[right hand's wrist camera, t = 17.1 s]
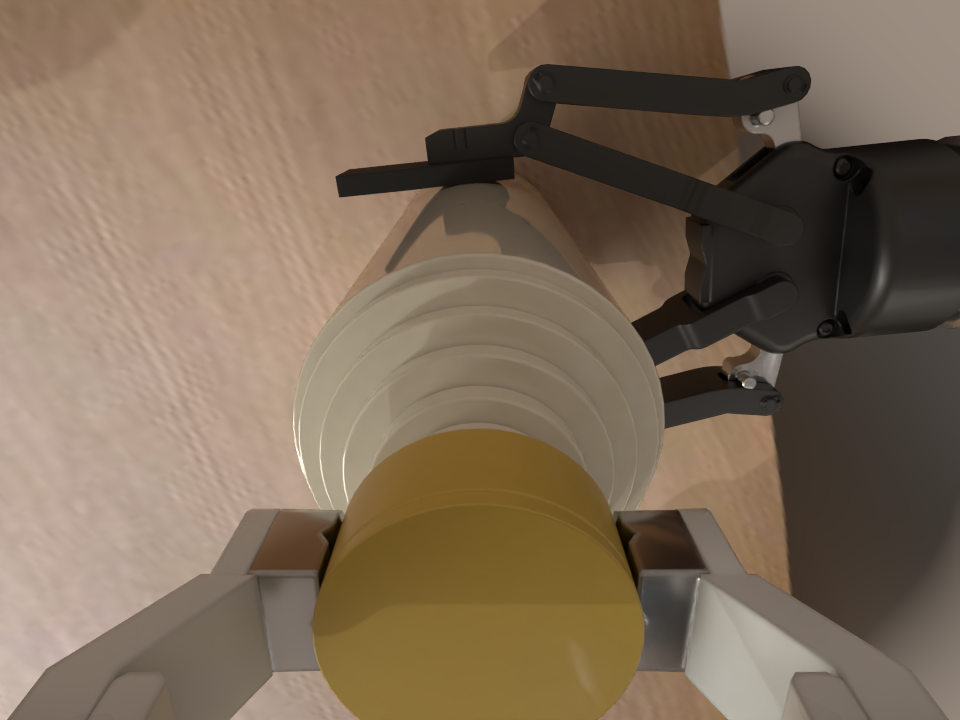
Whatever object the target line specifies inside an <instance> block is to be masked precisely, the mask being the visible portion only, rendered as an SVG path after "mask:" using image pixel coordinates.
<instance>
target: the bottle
mask: <svg viewBox="0 0 960 720" xmlns="http://www.w3.org/2000/svg"><path fill="white" fill-rule="evenodd" d="M514 174H515V179H511V180H501V181H492V182H482V183H471V184H463V185H453V186H444V187H434V188H425V189H421V190H420V191H419V192H418V193H417V195H416V196H415V197H414V199H413V200H412V202H411V203H410V204H409V206H408V207H407V209H406V210H405V212H404V213H403V214H402V216H401V217H400V219H399V220H398V222H397V223H396V224H395V226H394V227H393V229H392V230H391V232H390V233H389V234H388V236H387V237H386V239H385V240H384V242H383V243H382V244H381V246H380V247H379V249H378V250H377V252H376V253H375V254H374V256H373V257H372V259H371V260H370V261H369V263H368V264H367V266H366V267H365V269H364V270H363V271H362V273H361V274H360V276H359V277H358V279H357V280H356V281H355V283H354V284H353V286H352V287H351V289H350V290H349V291H348V293H347V294H346V296H345V297H344V299H343V300H342V301H341V303H340V304H339V306H338V307H337V309H336V310H335V311H334V313H333V314H332V316H331V317H330V319H329V320H328V321H327V323H326V324H325V326H324V327H323V328H322V330H321V331H320V333H319V334H318V336H317V337H316V338H315V340H314V342H313V344H312V346H311V348H310V350H309V352H308V354H307V356H306V358H305V360H304V362H303V365H302V368H301V371H300V374H299V377H298V380H297V384H296V390H295V396H294V402H293V433H294V441H295V448H296V451H297V455H298V459H299V462H300V466H301V469H302V471H303V474H304V476H305V478H306V481H307V483H308V485H309V488H310V490H311V492H312V495H313V497H314V499H315V501H316V503H317V504H318V506H319V508H320V509H321V510H342V511H343V513H344V514H345V513H346V510H347V507H348V505H349V503H350V500H351V498H352V496H353V494H354V492H355V491H356V490H357V488H358V487H359V485H360V484H361V482H362V481H363V479H364V478H365V477H366V476H367V475H368V474H369V473H370V472H371V471H372V470H373V469H374V468H375V467H376V466H377V465H378V464H379V463H381V462H382V461H383V460H384V459H386V458H387V457H388V456H390V455H391V454H393V453H395V452H396V451H398V450H399V449H401V448H403V447H404V446H406V445H409V444H411V443H413V442H415V441H418V440H420V439H422V438H425V437H428V436H432V435H433V434H438V433H443V432H448V431H454V430H460V429H477V428H480V429H483V428H487V429H497V430H503V431H509V432H515V433H519V434H522V435H525V436H529V437H532V438H535V439H537V440H541V441H542V442H545V443H546V444H549V445H551V446H553V447H554V448H556V449H558V450H559V451H561V452H563V453H564V454H566V455H568V456H569V457H570V458H571V459H573V460H574V461H575V462H576V463H578V464H579V465H580V466H581V467H582V468H583V469H584V470H585V471H586V472H587V473H588V474H589V475H590V476H591V477H592V478H593V479H594V481H595V482H596V484H597V485H598V486H599V488H600V489H601V491H602V492H603V494H604V496H605V498H606V500H607V502H608V504H609V506H610V509H611V512H612V515H613V513H614V511H636V510H637V508H638V507H639V505H640V503H641V502H642V500H643V498H644V496H645V493H646V491H647V489H648V486H649V484H650V482H651V479H652V477H653V475H654V472H655V470H656V468H657V464H658V460H659V457H660V453H661V449H662V444H663V436H664V428H665V413H664V399H663V394H662V388H661V382H660V379H659V376H658V373H657V370H656V367H655V364H654V361H653V359H652V357H651V355H650V353H649V351H648V349H647V347H646V345H645V343H644V341H643V339H642V338H641V336H640V335H639V334H638V332H637V331H636V329H635V328H634V326H633V325H632V323H631V322H630V321H629V319H628V318H627V316H626V315H625V313H624V312H623V311H622V309H621V308H620V306H619V305H618V303H617V302H616V300H615V299H614V298H613V296H612V295H611V293H610V292H609V290H608V289H607V288H606V286H605V285H604V283H603V282H602V280H601V279H600V277H599V276H598V275H597V273H596V272H595V270H594V269H593V267H592V266H591V265H590V263H589V262H588V260H587V259H586V257H585V256H584V254H583V253H582V252H581V250H580V249H579V247H578V246H577V244H576V243H575V242H574V240H573V239H572V237H571V236H570V234H569V233H568V231H567V230H566V229H565V227H564V226H563V224H562V223H561V221H560V220H559V219H558V217H557V216H556V214H555V213H554V211H553V210H552V208H551V207H550V206H549V204H548V203H547V201H546V200H545V199H544V197H543V196H542V194H541V193H540V192H539V191H538V190H537V189H536V188H535V187H534V186H533V185H532V184H531V183H529V182H528V181H527V180H526V179H524V178H522V177H521V176H519V175H517V174H516V173H514Z"/></svg>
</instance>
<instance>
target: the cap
mask: <svg viewBox="0 0 960 720" xmlns="http://www.w3.org/2000/svg"><path fill="white" fill-rule="evenodd" d="M644 629H645V624H644V617H643V609H642V606H641V602H640V599H639V596H638V593H637V590H636V587H635V584H634V580H633V577H632V574H631V571H630V568H629V565H628V562H627V559H626V556H625V552H624V549H623V546H622V543H621V540H620V537H619V534H618V531H617V528H616V525H615V521H614V518H613V515H612V512H611V509H610V506H609V504H608V502H607V500H606V498H605V496H604V494H603V492H602V491H601V489H600V488H599V486H598V485H597V484H596V482H595V481H594V479H593V478H592V477H591V476H590V475H589V474H588V473H587V472H586V471H585V470H584V469H583V468H582V467H581V466H580V465H579V464H578V463H576V462H575V461H574V460H573V459H571V458H570V457H569V456H568V455H566V454H564V453H563V452H561V451H559V450H558V449H556V448H554V447H553V446H551V445H549V444H546V443H545V442H542V441H541V440H537V439H535V438H532V437H529V436H525V435H522V434H519V433H515V432H509V431H503V430H497V429H487V428H483V429H480V428H477V429H460V430H454V431H448V432H443V433H438V434H433V435H432V436H428V437H425V438H422V439H420V440H418V441H415V442H413V443H411V444H409V445H406V446H404V447H403V448H401V449H399V450H398V451H396V452H395V453H393V454H391V455H390V456H388V457H387V458H386V459H384V460H383V461H382V462H381V463H379V464H378V465H377V466H376V467H375V468H374V469H373V470H372V471H371V472H370V473H369V474H368V475H367V476H366V477H365V478H364V479H363V481H362V482H361V484H360V485H359V487H358V488H357V490H356V491H355V492H354V494H353V496H352V498H351V500H350V503H349V505H348V507H347V510H346V513H345V516H344V519H343V522H342V525H341V528H340V531H339V534H338V537H337V540H336V543H335V546H334V549H333V552H332V555H331V558H330V561H329V564H328V567H327V570H326V573H325V576H324V579H323V582H322V585H321V588H320V591H319V594H318V598H317V601H316V604H315V608H314V614H313V622H312V636H313V646H314V650H315V655H316V659H317V662H318V665H319V667H320V670H321V672H322V675H323V677H324V678H325V680H326V682H327V684H328V685H329V687H330V689H331V690H332V692H333V693H334V694H335V695H336V697H337V698H338V699H339V700H340V702H341V703H342V704H343V705H344V706H345V707H346V708H347V709H348V710H349V711H350V712H351V713H352V714H353V715H354V716H356V717H357V718H358V719H360V720H597V719H599V718H600V717H601V716H603V715H604V714H605V713H606V712H607V711H608V710H609V709H610V708H611V707H612V706H613V705H614V704H615V703H616V702H617V700H618V699H619V698H620V696H621V695H622V694H623V693H624V691H625V690H626V689H627V687H628V685H629V683H630V682H631V680H632V678H633V676H634V674H635V672H636V669H637V667H638V664H639V661H640V658H641V654H642V649H643V644H644Z"/></svg>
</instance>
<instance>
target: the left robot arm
mask: <svg viewBox="0 0 960 720" xmlns="http://www.w3.org/2000/svg"><path fill="white" fill-rule="evenodd" d="M810 85H811V78H810V74H809V72H808V71H807V70H806V69H805V68H803V67H800V66H793V67H784V68H776V69H768V70H762V71H758V72H755V73H751V74H748V75H745V76H741V77H738V78H734V79H731V80H728V79H716V78H705V77H693V76H681V75H669V74H657V73H646V72H634V71H622V70H610V69H598V68H587V67H575V66H563V65H551V64H545V65H540V66H538V67H536V68H535V69H533V70H532V71H530V72H529V74H528V75H527V76H526V78H525V82H524V87H523V91H522V95H521V99H520V103H519V107H518V109H517V112H516V113H515V115H514V116H513V117H512V118H511V119H509V120H508V121H506V122H502V123H495V124H486V125H477V126H468V127H458V128H449V129H440V130H438V131H437V132H435V133H433V134H431V135H429V136H428V137H426V138H425V141H426V149H427V157H428V161H424V162H415V163H405V164H396V165H386V166H377V167H368V168H358V169H349V170H347V171H345V172H343V173H341V174H339V175H337V176H336V182H337V188H338V193H339V197H348V196H358V195H367V194H377V193H386V192H396V191H406V190H415V189H425V188H434V187H444V186H453V185H463V184H471V183H482V182H492V181H501V180H511V179H515V174H514V161H513V157H522V156H526V157H529V158H532V159H535V160H538V161H541V162H544V163H547V164H549V165H552V166H555V167H558V168H561V169H564V170H567V171H570V172H573V173H576V174H578V175H581V176H584V177H587V178H590V179H593V180H596V181H599V182H602V183H605V184H607V185H610V186H613V187H616V188H619V189H622V190H625V191H628V192H631V193H633V194H636V195H639V196H642V197H645V198H648V199H651V200H654V201H657V202H660V203H662V204H665V205H668V206H671V207H674V208H677V209H680V210H682V211H685V212H687V213H690V214H691V217H686V239H687V243H688V247H689V250H690V257H689V260H688V264H687V267H686V271H685V290H684V291H682V292H680V293H678V294H676V295H674V296H673V297H671V298H669V299H667V300H666V301H665V302H664V304H663V306H662V307H660V308H659V309H657V310H655V311H653V312H651V313H649V314H647V315H645V316H643V317H641V318H639V319H638V320H636V321H634V322H632V325H633V326H634V328H635V329H636V331H637V332H638V334H639V335H640V336H641V338H642V339H643V341H644V343H645V345H646V347H647V349H648V351H649V353H650V355H651V357H652V359H653V361H654V364H655V366H656V365H658V364H660V363H662V362H664V361H666V360H668V359H670V358H672V357H674V356H676V355H678V354H680V353H682V352H684V351H687V350H689V349H702V348H705V347H707V346H709V345H711V344H713V343H715V342H717V341H719V340H721V339H723V338H725V337H727V336H729V335H731V334H733V333H734V334H736V335H737V336H739V337H741V338H742V339H744V340H746V341H747V342H749V343H751V344H752V345H751V347H750V349H749V350H748V351H747V352H746V353H745V354H743V355H740V356H735V357H727V358H725V359H724V361H723V366H710V367H702V368H697V369H692V370H688V371H684V372H681V373H677V374H673V375H669V376H665V377H661V378H659V379H660V382H661V388H662V394H663V399H664V413H665V428H669V427H673V426H677V425H681V424H685V423H689V422H693V421H697V420H702V419H706V418H710V417H714V416H718V415H722V414H726V413H731V414H747V415H763V416H767V415H772V414H774V413H776V412H778V411H779V410H780V409H781V407H782V405H783V397H782V395H781V394H780V393H779V392H778V391H777V390H776V389H775V388H774V387H775V382H776V379H777V375H778V371H779V367H780V364H781V360H782V356H783V353H787V352H790V351H792V350H794V349H796V348H797V347H799V346H801V345H803V344H805V343H807V342H809V341H812V340H816V339H832V338H833V339H834V338H855V337H865V336H876V335H887V334H897V333H907V332H918V331H926V330H930V329H933V328H935V327H940V328H946V329H954V328H960V136H951V137H944V138H942V139H940V140H937V141H935V140H930V139H916V140H907V141H897V142H887V143H878V144H868V145H859V146H850V147H840V148H831V149H821V148H818V147H816V146H814V145H812V144H810V143H808V142H805V141H802V138H801V127H800V115H799V103H798V101H800V100H801V99H803V97H804V96H805V95H806V94H807V93H808V91H809V89H810ZM556 103H557V104H569V105H581V106H593V107H605V108H617V109H629V110H641V111H654V112H666V113H678V114H690V115H703V116H723V117H733V123H734V126H735V127H736V129H738V130H739V131H741V132H744V133H753V134H758V135H760V136H761V137H762V139H763V140H764V144H765V146H764V147H763V148H762V149H760V150H759V151H758V152H757V153H756V154H754V155H753V156H752V157H751V158H749V159H748V160H747V161H746V162H745V163H743V164H742V165H741V166H740V167H738V168H737V169H736V170H735V171H734V172H732V173H731V174H730V175H729V176H727V177H726V178H725V179H724V180H723V181H721V182H720V183H719V184H718V185H716V186H715V185H712V184H709V183H707V182H704V181H701V180H698V179H695V178H692V177H690V176H687V175H684V174H681V173H678V172H675V171H673V170H670V169H667V168H664V167H661V166H658V165H656V164H653V163H650V162H647V161H644V160H641V159H638V158H636V157H633V156H630V155H627V154H624V153H621V152H619V151H616V150H613V149H610V148H607V147H604V146H602V145H599V144H596V143H593V142H590V141H587V140H585V139H582V138H579V137H576V136H573V135H570V134H568V133H565V132H562V131H559V130H556V129H553V128H551V127H550V124H551V120H552V116H553V113H554V109H555V106H556ZM665 428H664V429H665Z"/></svg>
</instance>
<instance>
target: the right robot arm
mask: <svg viewBox="0 0 960 720" xmlns="http://www.w3.org/2000/svg"><path fill="white" fill-rule="evenodd" d="M344 516H345V514H344V513H343V511H342V510H312V509H282V510H281V509H251V510H249V511H247V512H246V513H245V515H244V517H243V518H242V520H241V522H240V523H239V525H238V527H237V529H236V530H235V532H234V534H233V535H232V537H231V539H230V541H229V542H228V544H227V546H226V548H225V549H224V551H223V553H222V554H221V556H220V558H219V560H218V561H217V563H216V565H215V566H214V568H213V570H212V572H211V573H210V574H200V575H199V576H197V577H195V578H194V579H192V580H191V581H189V582H187V583H186V584H184V585H182V586H181V587H179V588H178V589H176V590H174V591H173V592H171V593H169V594H168V595H166V596H164V597H163V598H161V599H160V600H158V601H156V602H155V603H153V604H151V605H150V606H148V607H147V608H145V609H143V610H142V611H140V612H138V613H137V614H135V615H134V616H132V617H130V618H129V619H127V620H125V621H124V622H122V623H121V624H119V625H117V626H116V627H114V628H112V629H111V630H109V631H108V632H106V633H104V634H103V635H101V636H99V637H98V638H96V639H95V640H93V641H91V642H90V643H88V644H86V645H85V646H83V647H81V648H80V649H78V650H77V651H75V652H73V653H72V654H70V655H68V656H67V657H65V658H64V659H62V660H60V661H59V662H57V663H55V664H54V665H52V666H51V667H49V668H47V669H46V670H45V672H44V673H43V674H42V675H41V677H40V678H39V679H38V681H37V682H36V683H35V685H34V686H33V687H32V688H31V690H30V691H29V692H28V694H27V695H26V696H25V697H24V699H23V700H22V701H21V703H20V704H19V705H18V706H17V708H16V709H15V710H14V712H13V713H12V714H11V716H10V717H9V718H8V719H7V720H229V719H230V718H231V717H232V716H233V715H234V714H235V713H236V712H237V711H238V710H239V709H240V708H241V707H242V706H243V705H244V704H245V703H246V702H247V701H248V700H249V699H250V698H251V697H252V696H253V695H254V694H255V693H256V692H257V691H258V690H259V689H260V688H261V687H262V686H263V685H264V684H265V683H266V682H267V681H268V679H269V678H270V677H271V676H272V672H290V671H321V670H320V667H319V665H318V662H317V659H316V655H315V650H314V646H313V636H312V622H313V614H314V608H315V604H316V601H317V598H318V594H319V591H320V588H321V585H322V582H323V579H324V576H325V573H326V570H327V567H328V564H329V561H330V558H331V555H332V552H333V549H334V546H335V543H336V540H337V537H338V534H339V531H340V528H341V525H342V522H343V519H344ZM613 518H614V521H615V525H616V528H617V531H618V534H619V537H620V540H621V543H622V546H623V549H624V552H625V556H626V559H627V562H628V565H629V568H630V571H631V574H632V577H633V580H634V584H635V587H636V590H637V593H638V596H639V599H640V602H641V606H642V609H643V617H644V624H645V629H644V644H643V649H642V654H641V658H640V661H639V664H638V667H637V669H636V671H666V672H685V674H684V675H685V676H686V677H687V678H688V679H689V680H690V681H691V682H692V683H693V684H694V685H695V686H696V687H697V688H698V689H699V690H700V691H701V692H702V693H703V694H704V695H705V696H706V697H707V698H708V700H709V701H710V702H711V703H712V704H713V705H714V706H715V707H716V708H717V709H718V710H719V711H720V712H721V713H722V714H723V715H724V716H725V717H726V718H727V719H728V720H949V719H948V718H947V717H946V715H945V714H944V713H943V711H942V710H941V709H940V707H939V706H938V705H937V704H936V702H935V701H934V700H933V698H932V697H931V696H930V694H929V693H928V692H927V690H926V689H925V688H924V686H923V685H922V684H921V683H920V681H919V680H918V679H917V677H916V676H915V675H914V673H913V672H912V671H911V670H910V669H909V668H907V667H905V666H904V665H902V664H900V663H899V662H897V661H896V660H894V659H892V658H891V657H889V656H888V655H886V654H884V653H883V652H881V651H879V650H878V649H876V648H875V647H873V646H871V645H870V644H868V643H867V642H865V641H863V640H862V639H860V638H858V637H857V636H855V635H854V634H852V633H850V632H849V631H847V630H846V629H844V628H842V627H841V626H839V625H837V624H836V623H834V622H833V621H831V620H829V619H828V618H826V617H824V616H823V615H821V614H820V613H818V612H816V611H815V610H813V609H812V608H810V607H808V606H807V605H805V604H804V603H802V602H800V601H799V600H797V599H795V598H794V597H792V596H791V595H789V594H787V593H786V592H784V591H783V590H781V589H779V588H778V587H776V586H774V585H773V584H771V583H770V582H768V581H766V580H765V579H763V578H762V577H760V576H758V575H757V574H747V573H746V572H745V570H744V568H743V566H742V565H741V563H740V561H739V560H738V558H737V556H736V554H735V553H734V551H733V549H732V548H731V546H730V544H729V542H728V541H727V539H726V537H725V535H724V534H723V532H722V530H721V529H720V527H719V525H718V523H717V522H716V520H715V518H714V517H713V515H712V513H711V511H709V510H707V509H706V508H701V509H675V510H644V511H614V513H613Z"/></svg>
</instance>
